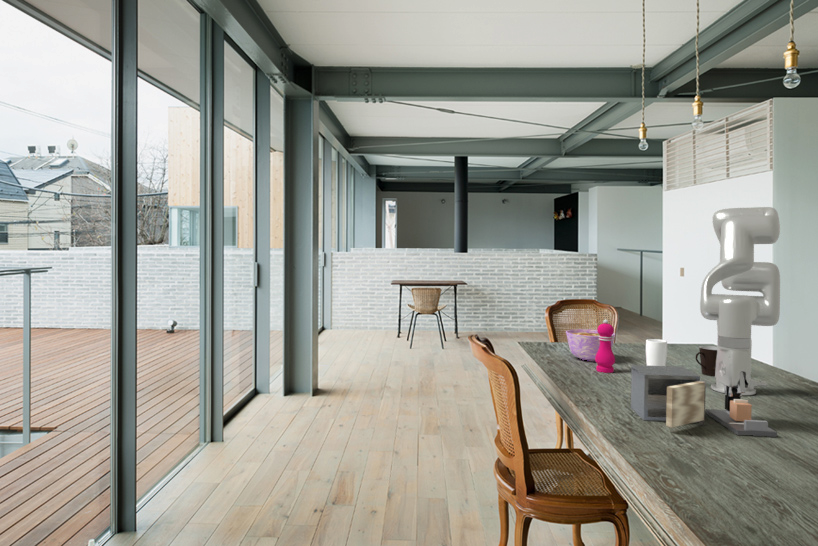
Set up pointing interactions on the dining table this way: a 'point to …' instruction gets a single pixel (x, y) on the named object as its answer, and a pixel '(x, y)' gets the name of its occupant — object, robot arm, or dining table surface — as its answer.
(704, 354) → the coffee mug
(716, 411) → the panel
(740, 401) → the knob
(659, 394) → the cabinet
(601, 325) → the pepper mill
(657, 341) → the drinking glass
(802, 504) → the dining table surface
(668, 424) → the door
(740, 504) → the dining table surface
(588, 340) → the bowl of food
